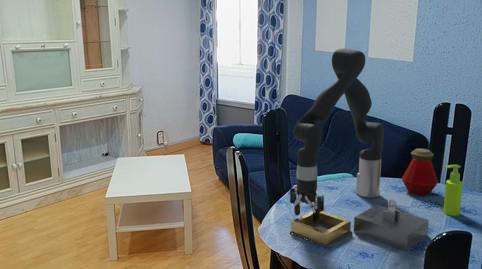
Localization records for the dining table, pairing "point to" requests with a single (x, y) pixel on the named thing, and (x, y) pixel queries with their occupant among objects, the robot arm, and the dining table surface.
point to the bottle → (420, 173)
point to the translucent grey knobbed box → (391, 226)
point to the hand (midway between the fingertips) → (306, 218)
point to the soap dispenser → (453, 192)
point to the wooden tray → (320, 236)
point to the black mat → (323, 228)
